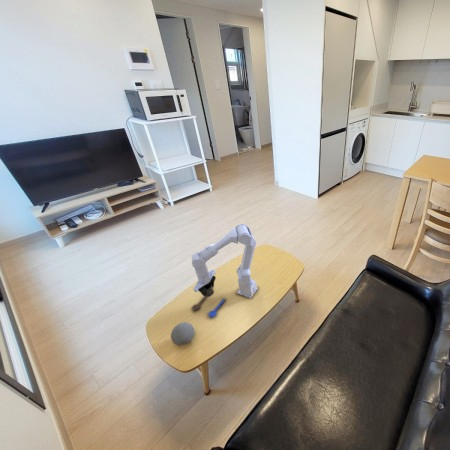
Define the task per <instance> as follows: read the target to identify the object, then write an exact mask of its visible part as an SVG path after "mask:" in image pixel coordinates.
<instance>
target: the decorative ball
mask: <svg viewBox="0 0 450 450" xmlns="http://www.w3.org/2000/svg"><path fill="white" fill-rule="evenodd" d="M194 336H195V328H194V326H193V325H192V323H190V322H185V321H184V322H180V323H178V324H176V325H174V327H173V329H172V330H171V333H170V339H171V341H172V343H173V344H175V345H176V346H186V345H188V344H189V343H190V342H191V341H192V340H193V338H194Z"/></svg>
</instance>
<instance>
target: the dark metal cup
mask: <svg viewBox="0 0 450 450" xmlns="http://www.w3.org/2000/svg"><path fill="white" fill-rule="evenodd" d="M203 287H204V288H206V296H204V297H207V298H208V297H211V296H213V295H214V293H215V289H214V288H213V286H212V283H210V282H209V283H207V284H206V285H204V286H203Z"/></svg>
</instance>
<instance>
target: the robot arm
mask: <svg viewBox="0 0 450 450" xmlns="http://www.w3.org/2000/svg"><path fill="white" fill-rule="evenodd" d="M233 243H234V244H236V245H239V243H240V244H242V245H244V248H243V254H242V258H241V263H240V264H239V265H238V268H237V269H236V274H237V283H238V288H239V289H238V290H237V292H236V294H238V295H241V296H244V297H246V298H250V299H251V298H252V297H253V296H254V294H255V293H256V291H257V290H258V289H259V288H258V286H257V281H256V280H253V279H252V278H251V266H252V262H253V258H254V254H255V249H256V245H257V241H256V239H255V237H254V235H253V233H252V231H251V229H250V227H249V226H248V225H246V224H244V223H239V224H237V225H236V226H234V227H232V229H230V231H229V232H228V233H227V234H226V235H225V236H223V237H222V238H221V239H219V240H218V241H217V242H215V244H209V245H206V246H205V248H203V249H202V250H200V251H199V252H194V253H193V254H192V256H191V264H192V267H193V268H194V271H195V274H196V277H197V282H196V284H195V286H194V287H193V292H195V293H198V292H199V293H200V294H201V295H202V296H204V297H205V296H206V288H204V287H203V286H204V285H206V284H207V283H209V282H210V283H212V286H213V289H214V288H215V281H216V279H217V277H216V276H215V275H216V270H215V269H211V270H210V271H209V270H208V265H207V262H208V261H209V260H211V259H212V258H214V257H216V256H217V255H218V253H219V251H220V250H221V249H223V248H225V247H226V246H228V245H230V244H233Z"/></svg>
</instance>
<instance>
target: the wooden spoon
mask: <svg viewBox="0 0 450 450" xmlns="http://www.w3.org/2000/svg"><path fill="white" fill-rule="evenodd" d="M207 298H208V297H205V296H204V297H203V298H202V299H201V300H200V301H199V302H198V303H197V304H194V305H193V306H192V311H194V312H197V311H198V310H200V308H201V305H202V304H203V303H204V301H206V300H207Z"/></svg>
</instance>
